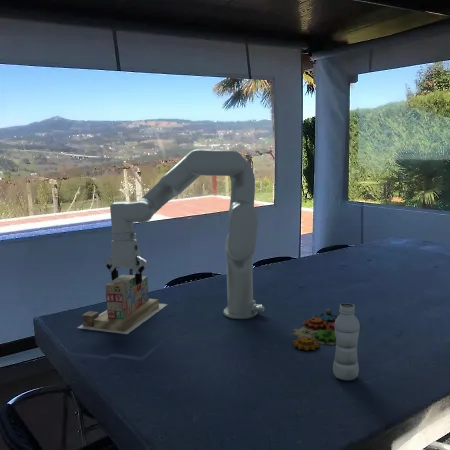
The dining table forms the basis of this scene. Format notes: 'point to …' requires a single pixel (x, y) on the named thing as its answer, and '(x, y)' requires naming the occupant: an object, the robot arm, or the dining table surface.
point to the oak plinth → (130, 320)
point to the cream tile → (130, 327)
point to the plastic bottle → (346, 343)
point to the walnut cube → (89, 318)
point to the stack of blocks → (125, 296)
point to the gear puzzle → (316, 331)
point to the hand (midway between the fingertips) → (127, 282)
